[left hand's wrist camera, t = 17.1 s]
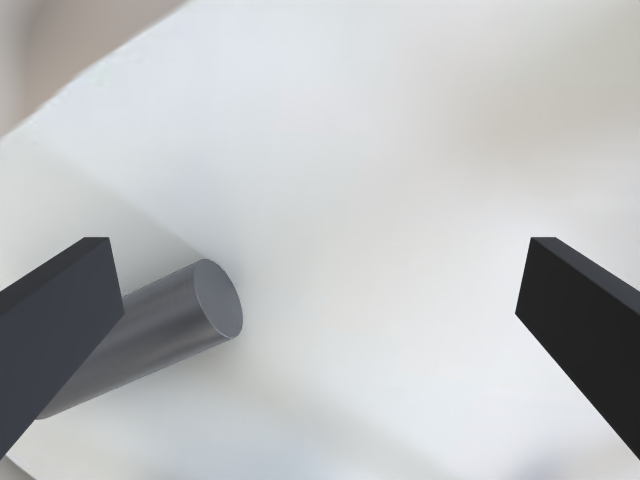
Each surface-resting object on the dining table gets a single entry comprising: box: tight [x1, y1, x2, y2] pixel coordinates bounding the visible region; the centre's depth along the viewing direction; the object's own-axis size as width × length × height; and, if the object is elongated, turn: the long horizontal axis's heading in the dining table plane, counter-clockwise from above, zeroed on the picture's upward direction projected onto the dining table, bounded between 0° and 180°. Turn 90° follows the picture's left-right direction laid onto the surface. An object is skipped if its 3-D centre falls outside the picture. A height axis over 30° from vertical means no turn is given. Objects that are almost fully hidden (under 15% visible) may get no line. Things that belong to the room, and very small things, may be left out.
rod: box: [35, 259, 243, 420], centre depth 44 cm, size 24×9×9 cm, turn 116°
